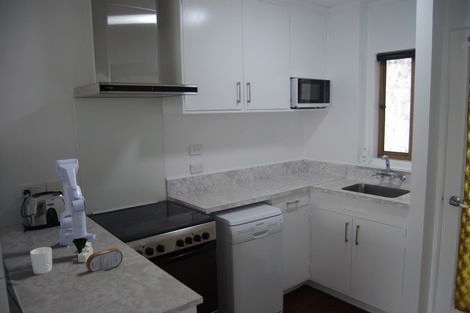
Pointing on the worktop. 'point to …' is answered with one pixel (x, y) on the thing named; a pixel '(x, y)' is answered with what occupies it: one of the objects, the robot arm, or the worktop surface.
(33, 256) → the white cup
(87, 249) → the tab
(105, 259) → the tin
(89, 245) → the light grey block
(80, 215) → the robot arm
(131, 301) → the worktop surface
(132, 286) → the worktop surface
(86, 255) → the tab
